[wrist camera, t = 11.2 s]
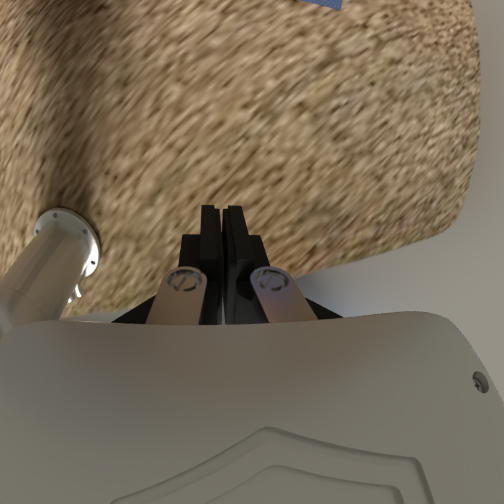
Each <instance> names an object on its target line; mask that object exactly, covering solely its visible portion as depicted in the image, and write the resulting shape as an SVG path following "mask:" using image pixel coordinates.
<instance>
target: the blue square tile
mask: <svg viewBox="0 0 504 504" xmlns="http://www.w3.org/2000/svg"><path fill="white" fill-rule="evenodd" d="M302 1H306V2H311V3H315V4H319V5H323V6H327V7H331V8H334V9H338V10H341V3H342V0H302Z"/></svg>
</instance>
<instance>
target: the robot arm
mask: <svg viewBox="0 0 504 504" xmlns="http://www.w3.org/2000/svg"><path fill="white" fill-rule="evenodd" d="M100 256H101V249H100V244H99V240H98V238H97V235H96V233H95V232H94V230H93V229H92V227H91V226H90V225H89V223H88V222H87V221H86V220H85V219H84V218H82V217H81V216H80V215H78V214H77V213H75V212H73V211H71V210H69V209H65V208H52V209H49V210H47V211H45V212H44V213H43V214H42V215H41V216H40V217H39V218H38V220H37V222H36V224H35V227H34V238H33V240H32V241H31V242H30V243H29V244H28V246H27V247H26V248H25V249H24V251H23V252H22V253H21V254H20V256H19V257H18V258H17V260H16V261H15V262H14V263H13V265H12V266H11V268H10V269H9V270H8V272H7V273H6V274H5V276H4V277H3V279H2V280H1V282H0V504H504V403H503V401H502V399H501V397H500V395H499V393H498V390H497V389H496V387H495V385H494V383H493V381H492V379H491V377H490V376H489V374H488V372H487V370H486V368H485V367H484V365H483V363H482V362H481V360H480V358H479V357H478V355H477V354H476V352H475V350H474V349H473V348H472V346H471V345H470V343H469V342H468V341H467V339H466V338H465V336H464V335H463V334H462V333H461V331H460V330H459V329H458V328H457V327H456V326H455V325H454V324H453V323H452V322H451V321H450V320H449V319H447V318H444V317H442V316H439V315H436V314H432V313H427V312H418V311H405V312H393V313H382V314H373V315H364V316H356V317H346V318H344V317H342V316H340V315H338V314H336V313H334V312H332V311H330V310H328V309H326V308H324V307H322V306H321V305H319V304H317V303H315V302H313V301H311V300H309V299H307V298H305V297H304V296H303V294H302V293H301V291H300V290H299V288H298V286H297V285H296V284H295V282H294V280H293V278H292V277H291V276H290V275H289V274H288V273H287V272H286V271H284V270H282V269H279V268H276V267H270V264H269V261H268V258H267V255H266V252H265V249H264V245H263V242H262V239H261V237H260V235H249V234H248V230H247V226H246V222H245V218H244V215H243V211H242V207H241V206H228V209H223V219H222V232H221V222H220V210H219V209H215V207H214V205H202V209H201V232H200V235H199V234H183V235H182V242H181V249H180V257H179V265H178V268H174V269H172V270H170V271H169V272H167V273H166V274H165V276H164V277H163V279H162V282H161V284H160V287H159V289H158V292H157V294H156V295H155V296H153V297H152V298H150V299H148V300H147V301H145V302H143V303H142V304H140V305H138V306H137V307H135V308H134V309H132V310H130V311H129V312H127V313H125V314H124V315H122V316H120V317H119V318H117V319H116V320H114V321H112V322H111V323H106V322H88V321H69V320H60V318H61V316H62V313H63V311H64V309H65V307H66V305H67V303H68V302H71V301H73V300H74V299H75V295H74V293H73V291H74V290H75V293H76V295H77V297H81V296H83V294H84V292H83V290H82V287H81V285H80V284H81V282H82V280H83V278H84V277H87V276H89V275H90V274H92V273H93V272H94V271H95V269H96V267H97V265H98V263H99V261H100ZM222 297H223V303H224V314H225V323H226V325H221V322H222Z"/></svg>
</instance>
